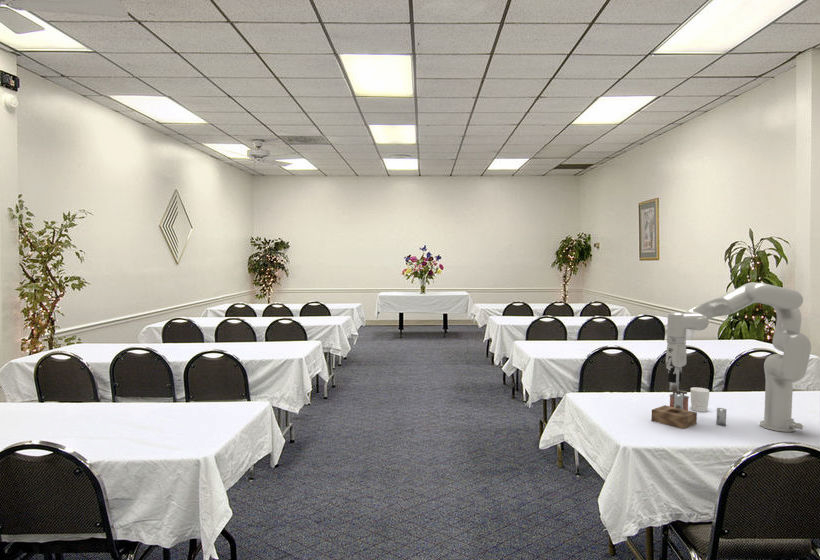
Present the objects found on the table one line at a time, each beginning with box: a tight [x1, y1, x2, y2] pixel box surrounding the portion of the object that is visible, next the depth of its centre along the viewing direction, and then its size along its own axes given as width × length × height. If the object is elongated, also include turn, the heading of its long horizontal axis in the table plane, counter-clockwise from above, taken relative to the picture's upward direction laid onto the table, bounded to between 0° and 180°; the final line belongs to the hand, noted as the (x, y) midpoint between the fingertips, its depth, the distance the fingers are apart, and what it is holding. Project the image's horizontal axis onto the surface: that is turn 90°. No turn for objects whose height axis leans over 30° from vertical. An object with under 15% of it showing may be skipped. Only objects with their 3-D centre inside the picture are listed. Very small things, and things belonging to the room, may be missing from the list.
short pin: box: [716, 407, 727, 427], centre depth 226 cm, size 4×4×7 cm
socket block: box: [650, 404, 698, 430], centre depth 229 cm, size 14×12×5 cm
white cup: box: [690, 387, 710, 413], centre depth 248 cm, size 8×8×10 cm
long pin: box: [668, 365, 680, 393], centre depth 228 cm, size 4×4×14 cm
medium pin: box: [674, 393, 683, 409], centre depth 237 cm, size 4×4×10 cm
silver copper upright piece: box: [669, 389, 690, 411], centre depth 246 cm, size 8×3×10 cm, turn 62°
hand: (674, 381), depth 228 cm, fingers closed on long pin, 3 cm apart
